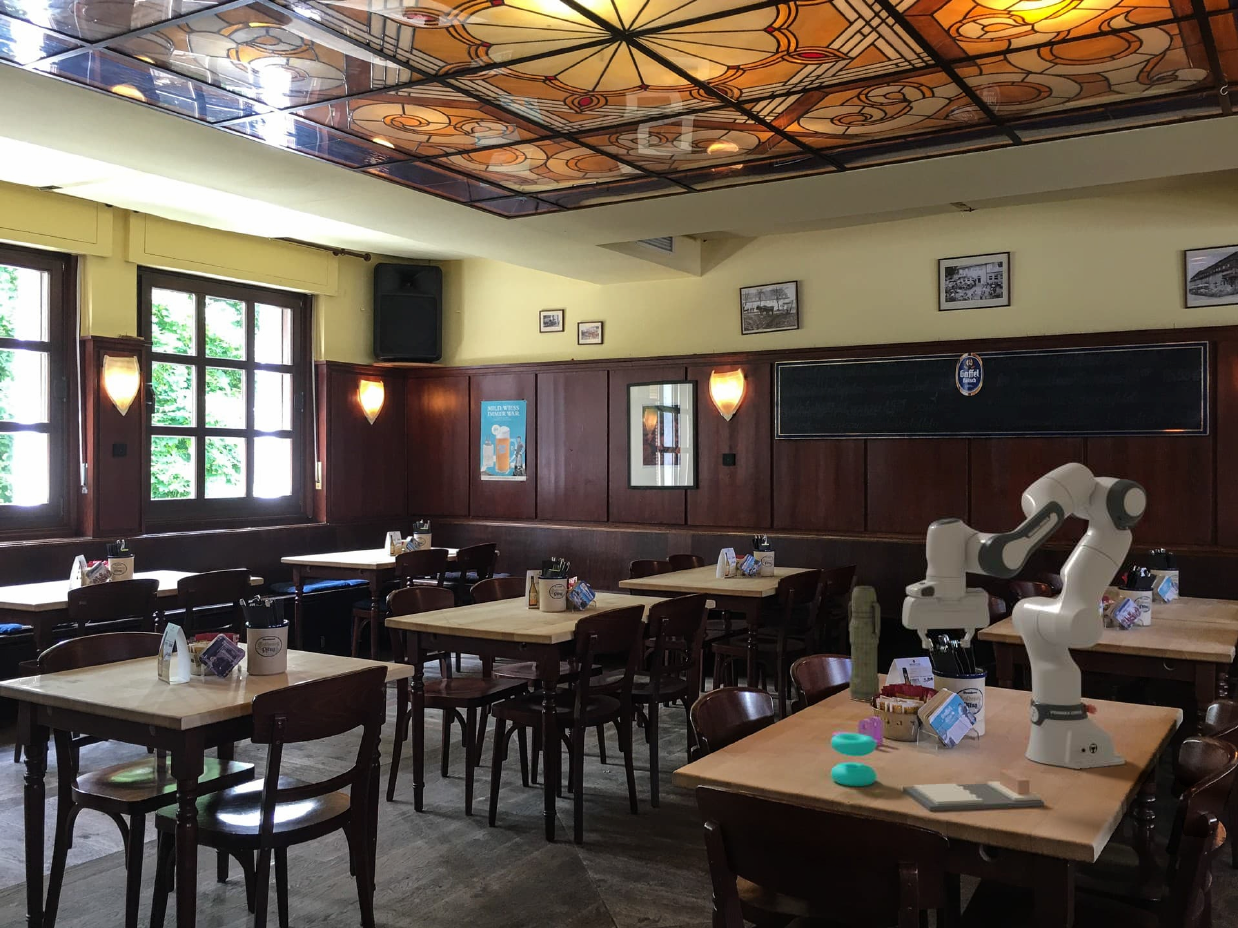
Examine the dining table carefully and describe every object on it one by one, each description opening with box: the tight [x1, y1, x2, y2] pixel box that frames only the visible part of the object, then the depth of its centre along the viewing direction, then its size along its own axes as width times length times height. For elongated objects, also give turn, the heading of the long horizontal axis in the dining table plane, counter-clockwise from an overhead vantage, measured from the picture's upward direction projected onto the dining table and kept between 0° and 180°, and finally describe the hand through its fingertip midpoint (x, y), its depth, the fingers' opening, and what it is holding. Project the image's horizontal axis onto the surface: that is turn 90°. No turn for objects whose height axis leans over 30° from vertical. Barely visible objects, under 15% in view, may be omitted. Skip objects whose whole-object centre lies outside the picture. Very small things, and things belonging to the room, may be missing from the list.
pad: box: [902, 783, 1045, 812], centre depth 228 cm, size 25×14×2 cm, turn 98°
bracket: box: [832, 716, 884, 747], centre depth 278 cm, size 13×6×7 cm, turn 43°
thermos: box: [847, 585, 881, 701], centre depth 332 cm, size 9×12×35 cm
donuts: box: [830, 732, 877, 787], centre depth 241 cm, size 10×10×10 cm
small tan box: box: [986, 769, 1042, 801], centre depth 229 cm, size 6×12×4 cm, turn 8°
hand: (946, 647), depth 249 cm, fingers open, 8 cm apart
